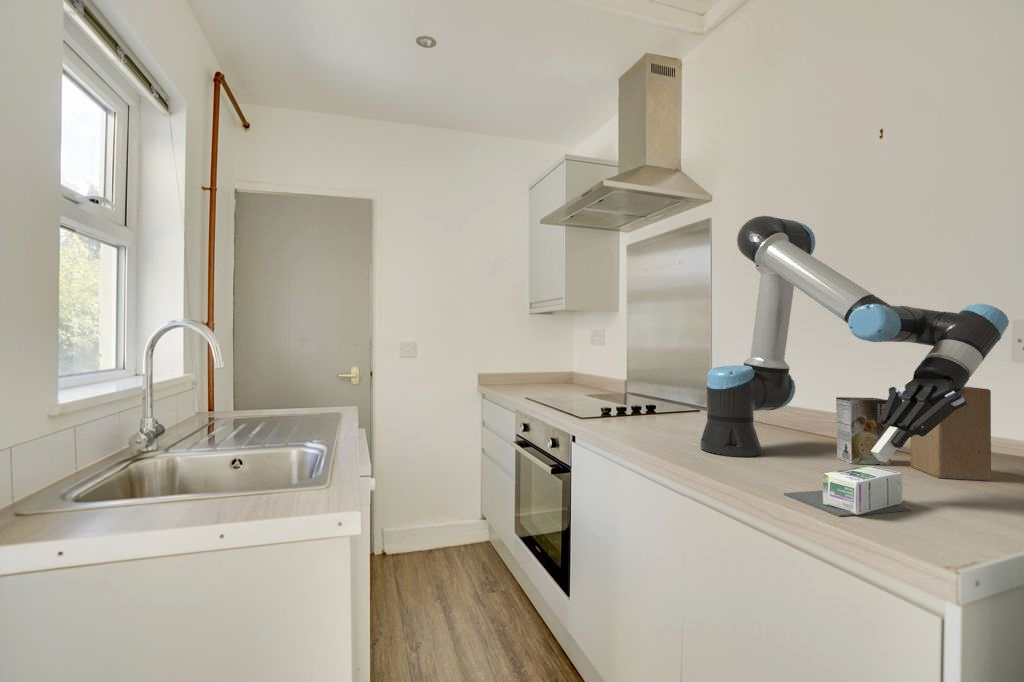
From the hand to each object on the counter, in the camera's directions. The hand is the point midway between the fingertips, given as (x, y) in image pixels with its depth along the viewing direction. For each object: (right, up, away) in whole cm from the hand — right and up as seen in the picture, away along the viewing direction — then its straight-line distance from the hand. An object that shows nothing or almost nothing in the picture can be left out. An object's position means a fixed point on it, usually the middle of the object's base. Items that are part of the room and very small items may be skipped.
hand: (878, 456), depth 88 cm
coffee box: (+19, -9, +29) cm, 36 cm away
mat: (-8, -8, -2) cm, 11 cm away
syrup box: (+1, -5, -1) cm, 5 cm away
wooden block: (+31, -9, +18) cm, 37 cm away
